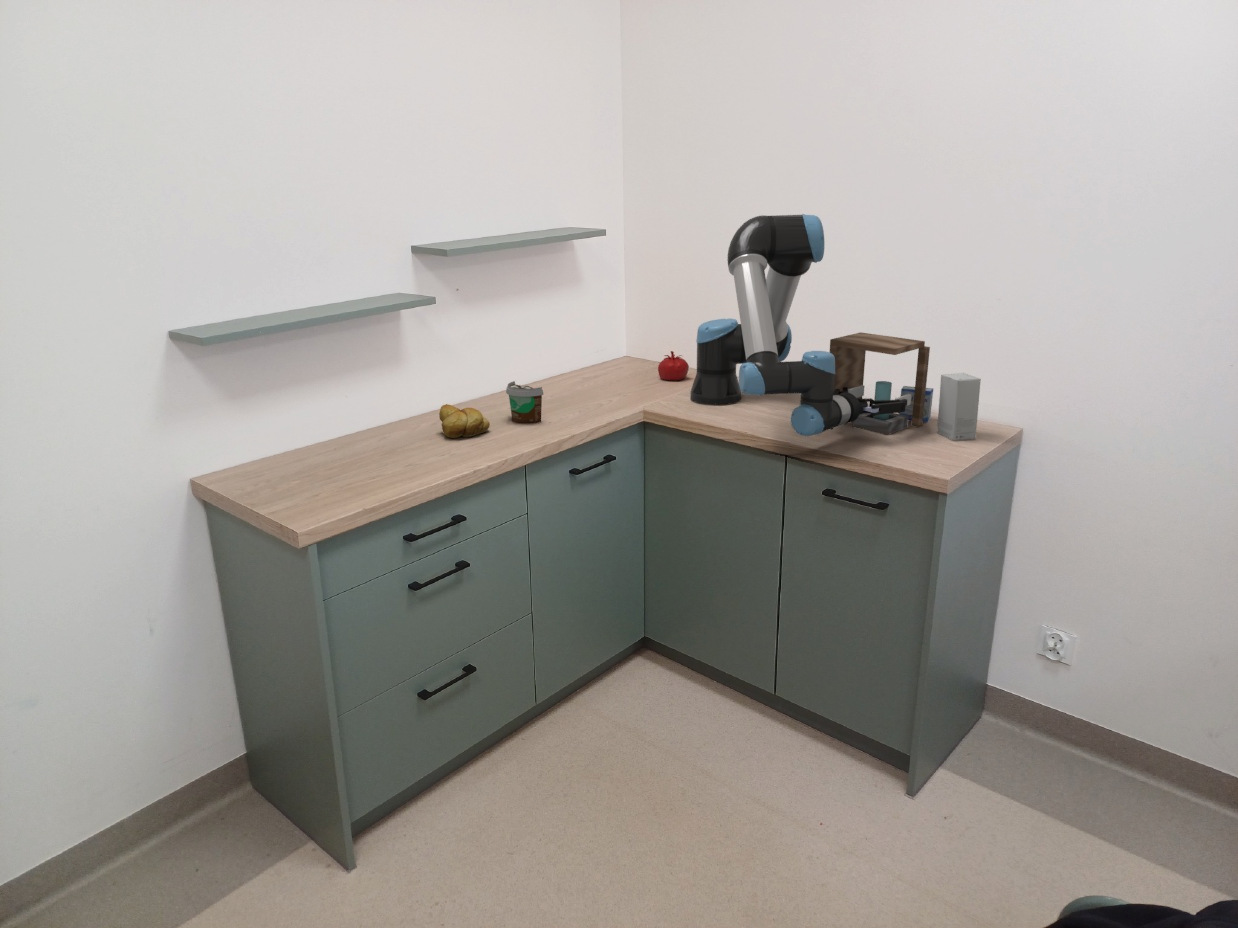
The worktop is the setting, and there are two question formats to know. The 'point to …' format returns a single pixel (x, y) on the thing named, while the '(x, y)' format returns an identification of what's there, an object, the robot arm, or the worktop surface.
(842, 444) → the worktop surface
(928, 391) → the medicine box
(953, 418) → the skincare box
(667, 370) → the red tomato
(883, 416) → the peg
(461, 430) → the bread roll
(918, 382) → the wooden table arch
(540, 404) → the food container
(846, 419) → the robot arm
